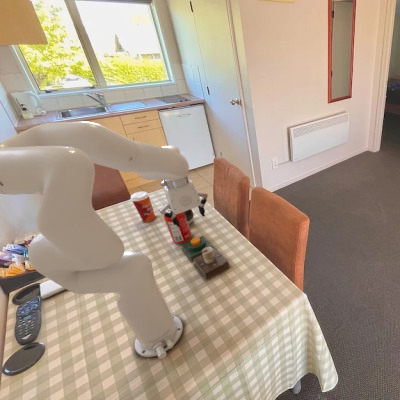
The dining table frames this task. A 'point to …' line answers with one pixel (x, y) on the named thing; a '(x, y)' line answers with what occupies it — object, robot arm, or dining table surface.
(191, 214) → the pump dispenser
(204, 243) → the switch box
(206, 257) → the dimmer knob
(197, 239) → the power button
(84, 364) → the dining table surface
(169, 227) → the soda can
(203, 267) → the dimmer panel
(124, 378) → the dining table surface
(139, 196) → the paper cup
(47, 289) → the hard drive
